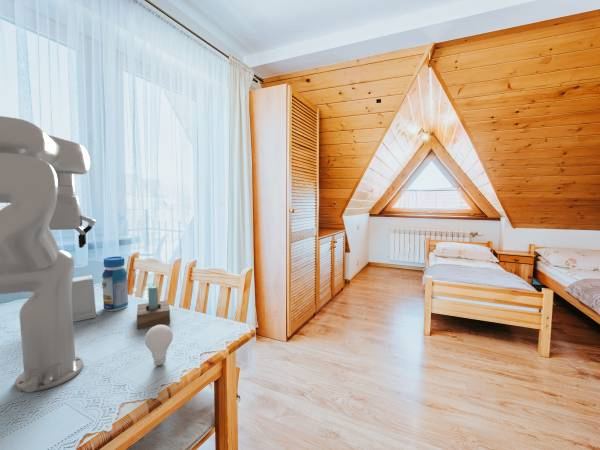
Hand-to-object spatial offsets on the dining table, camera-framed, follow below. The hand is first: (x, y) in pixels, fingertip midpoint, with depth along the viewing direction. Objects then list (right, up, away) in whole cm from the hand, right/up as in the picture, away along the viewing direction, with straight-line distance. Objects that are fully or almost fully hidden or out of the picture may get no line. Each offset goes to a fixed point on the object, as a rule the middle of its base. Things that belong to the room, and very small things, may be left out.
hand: (62, 247), depth 86 cm
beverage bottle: (0, -26, +26) cm, 37 cm away
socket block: (+20, -27, +15) cm, 37 cm away
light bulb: (+35, -31, -11) cm, 48 cm away
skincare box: (-6, -27, +16) cm, 32 cm away
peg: (+20, -27, +15) cm, 37 cm away
